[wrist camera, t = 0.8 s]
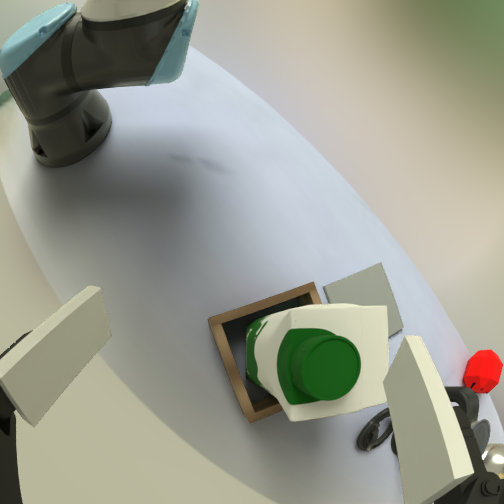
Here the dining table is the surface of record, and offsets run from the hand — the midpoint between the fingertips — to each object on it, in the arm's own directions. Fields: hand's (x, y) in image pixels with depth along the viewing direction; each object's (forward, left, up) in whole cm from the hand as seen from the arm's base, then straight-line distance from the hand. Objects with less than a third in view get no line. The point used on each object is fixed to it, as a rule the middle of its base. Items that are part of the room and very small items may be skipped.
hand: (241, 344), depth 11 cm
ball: (+28, +43, -24) cm, 57 cm away
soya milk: (+4, +7, -24) cm, 25 cm away
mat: (+4, +22, -23) cm, 32 cm away
